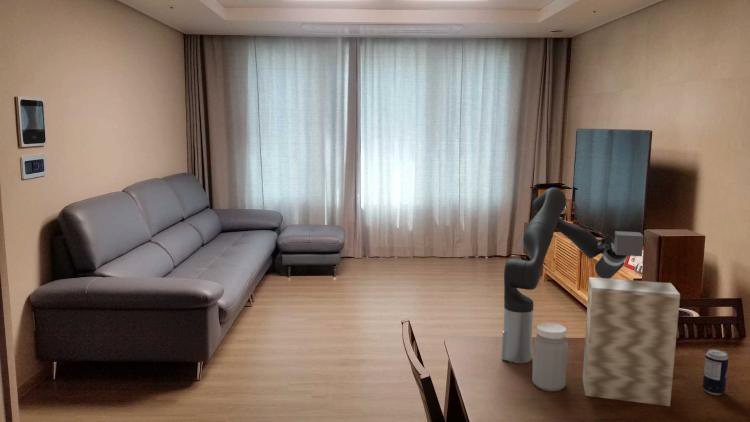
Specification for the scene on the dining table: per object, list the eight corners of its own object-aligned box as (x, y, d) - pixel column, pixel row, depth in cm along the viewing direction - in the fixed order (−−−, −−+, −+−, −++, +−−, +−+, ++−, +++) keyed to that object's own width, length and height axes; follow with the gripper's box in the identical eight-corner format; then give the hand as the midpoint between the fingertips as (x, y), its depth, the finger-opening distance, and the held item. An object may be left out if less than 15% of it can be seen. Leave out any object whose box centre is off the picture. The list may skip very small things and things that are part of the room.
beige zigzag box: (585, 395, 163) (592, 287, 158) (582, 378, 174) (589, 277, 169) (669, 406, 157) (680, 294, 152) (661, 388, 168) (671, 283, 163)
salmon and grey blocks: (641, 256, 167) (643, 236, 166) (616, 254, 169) (617, 234, 168) (631, 242, 186) (633, 224, 185) (608, 240, 188) (609, 223, 187)
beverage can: (727, 397, 163) (732, 357, 161) (706, 395, 164) (710, 355, 162) (720, 388, 168) (724, 349, 166) (699, 386, 169) (703, 347, 167)
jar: (524, 380, 172) (527, 324, 169) (550, 375, 176) (553, 319, 173) (546, 395, 164) (549, 335, 161) (573, 389, 167) (576, 330, 164)
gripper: (593, 240, 199) (599, 224, 184) (637, 243, 196) (647, 226, 180) (593, 261, 197) (599, 246, 181) (638, 264, 193) (648, 249, 177)
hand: (623, 236), depth 181 cm, fingers closed on salmon and grey blocks, 3 cm apart
